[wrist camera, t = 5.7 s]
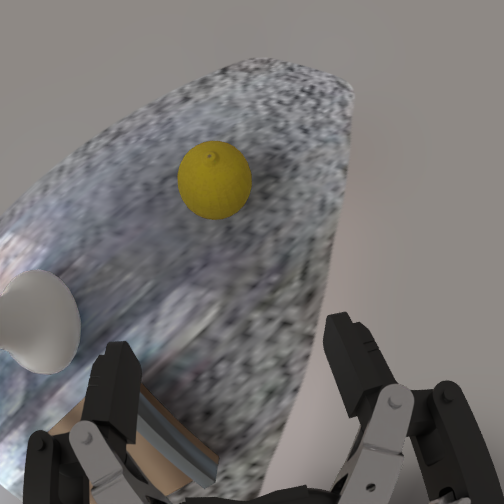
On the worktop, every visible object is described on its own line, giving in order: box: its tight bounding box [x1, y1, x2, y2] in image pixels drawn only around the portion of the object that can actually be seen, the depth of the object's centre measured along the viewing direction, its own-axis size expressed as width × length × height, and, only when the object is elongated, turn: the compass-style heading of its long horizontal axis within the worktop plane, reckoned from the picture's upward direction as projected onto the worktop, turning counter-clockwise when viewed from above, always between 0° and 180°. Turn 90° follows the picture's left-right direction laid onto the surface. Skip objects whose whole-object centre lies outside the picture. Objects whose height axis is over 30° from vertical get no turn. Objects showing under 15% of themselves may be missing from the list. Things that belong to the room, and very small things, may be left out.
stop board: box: [48, 383, 219, 504], centre depth 18 cm, size 18×12×4 cm, turn 133°
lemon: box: [178, 141, 252, 220], centre depth 21 cm, size 6×6×8 cm
